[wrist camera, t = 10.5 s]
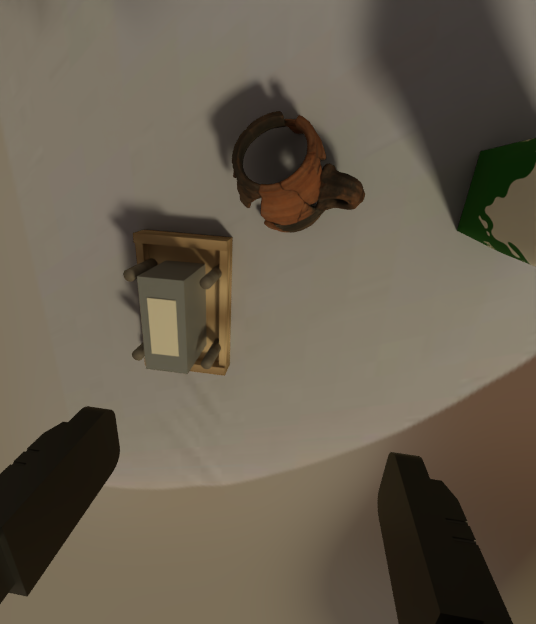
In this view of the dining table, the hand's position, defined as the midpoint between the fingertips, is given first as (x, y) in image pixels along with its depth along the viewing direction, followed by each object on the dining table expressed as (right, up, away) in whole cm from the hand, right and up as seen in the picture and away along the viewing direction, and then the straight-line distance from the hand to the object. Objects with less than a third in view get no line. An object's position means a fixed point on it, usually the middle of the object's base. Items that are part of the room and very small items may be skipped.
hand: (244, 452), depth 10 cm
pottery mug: (+4, +17, +23) cm, 29 cm away
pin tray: (-9, +5, +30) cm, 31 cm away
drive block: (-9, +5, +29) cm, 30 cm away
